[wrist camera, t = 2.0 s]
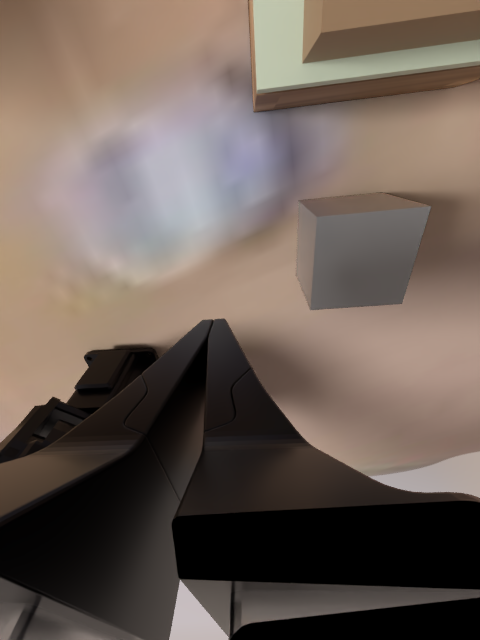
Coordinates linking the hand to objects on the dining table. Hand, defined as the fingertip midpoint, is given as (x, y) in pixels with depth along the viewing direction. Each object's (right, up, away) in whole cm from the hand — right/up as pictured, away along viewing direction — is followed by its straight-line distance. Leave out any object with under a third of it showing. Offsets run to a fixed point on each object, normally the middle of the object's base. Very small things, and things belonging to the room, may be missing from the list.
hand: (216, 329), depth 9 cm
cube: (+7, +6, +8) cm, 12 cm away
